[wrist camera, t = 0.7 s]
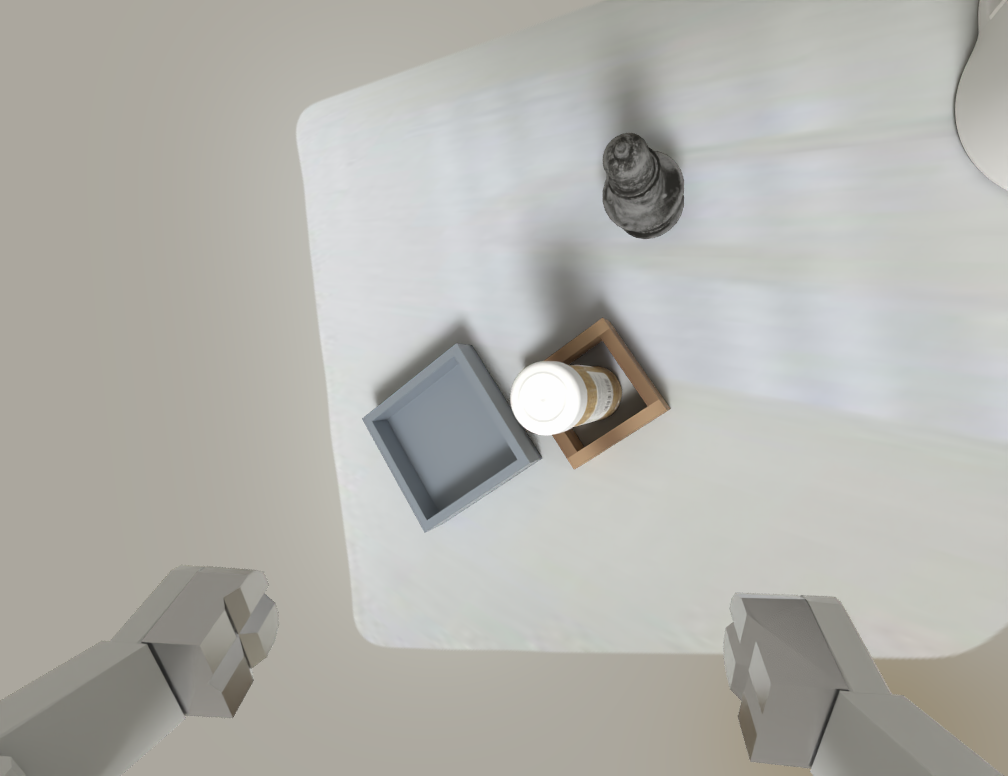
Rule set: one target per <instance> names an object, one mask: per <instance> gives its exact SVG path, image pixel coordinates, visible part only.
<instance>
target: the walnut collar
mask: <svg viewBox="0 0 1008 776" xmlns="http://www.w3.org/2000/svg"><path fill="white" fill-rule="evenodd" d="M601 341H603V342H604V344H605V345H606V346H607V348H608V349H609V351H610V352H611V354H612V355H613V357H614V358H615V360H616V361H617V363H618V364H619V365H620V367H621V368H622V370H623V371H624V373H625V374H626V376H627V377H628V379H629V380H630V381H631V383H632V384H633V386H634V387H635V389H636V390H637V392H638V393H639V395H640V396H641V397H642V399H643V400H644V402H645V403H646V405H647V406H648V407H646V408H645V409H643V410H642V411H640V412H639V413H637V414H635V415H634V416H632V417H631V418H629V419H628V420H626V421H625V422H623V423H622V424H620V425H618V426H617V427H615V428H614V429H612V430H611V431H609V432H608V433H606V434H605V435H603V436H601V437H600V438H598V439H597V440H595V441H594V442H592V443H591V444H589V445H588V446H586V447H584V446H583V444H582V443H581V441H580V440H579V438H578V437H577V435H576V434H575V432H574V430H573V429H572V428H571V429H569V430H567V431H565V432H562V433H558V434H553V435H552V436H553V437H554V439H555V440H556V442H557V443H558V445H559V447H560V448H561V450H562V451H563V453H564V455H565V456H566V458H567V459H568V461H569V462H570V464H571V466H572V467H573V469H576V468H578V467H579V466H581V465H583V464H585V463H586V462H588V461H589V460H591V459H592V458H594V457H596V456H597V455H599V454H600V453H602V452H604V451H605V450H607V449H608V448H610V447H611V446H613V445H615V444H616V443H618V442H619V441H621V440H622V439H624V438H626V437H627V436H629V435H630V434H632V433H633V432H635V431H637V430H638V429H640V428H641V427H643V426H644V425H646V424H648V423H649V422H651V421H652V420H654V419H655V418H657V417H659V416H660V415H662V414H663V413H665V412H667V411H668V410H670V407H669V406H668V405H667V403H666V402H665V400H664V399H663V397H662V396H661V394H660V393H659V392H658V390H657V389H656V387H655V386H654V384H653V383H652V382H651V380H650V379H649V377H648V376H647V374H646V373H645V372H644V370H643V369H642V367H641V366H640V364H639V363H638V361H637V360H636V359H635V357H634V356H633V354H632V353H631V351H630V350H629V349H628V347H627V346H626V344H625V343H624V341H623V340H622V338H621V337H620V336H619V334H618V333H617V331H616V330H615V328H614V327H613V326H612V324H611V323H610V321H608V320H606V319H604V318H601V319H600V320H599V321H597V322H596V323H595V324H593V325H592V326H591V327H589V328H588V329H586V330H585V331H584V332H582V333H581V334H580V335H578V336H577V337H576V338H574V339H573V340H571V341H570V342H569V343H567V344H566V345H565V346H563V347H562V348H561V349H559V350H558V351H556V352H555V353H554V354H552V355H551V356H550V357H548V358H547V359H546V360H544V361H556V362H561V363H564V364H567V365H569V364H571V363H572V362H574V361H575V360H576V359H578V358H579V357H581V356H582V355H583V354H585V353H586V352H587V351H589V350H590V349H592V348H593V347H594V346H596V345H597V344H599V343H600V342H601Z"/></svg>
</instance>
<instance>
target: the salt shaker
mask: <svg viewBox="0 0 1008 776" xmlns="http://www.w3.org/2000/svg"><path fill="white" fill-rule="evenodd" d="M603 166H604V169H605V171H606V173H607V178H606V181H605V185H604V189H603V204H604V208H605V211H606V213H607V214H608V216H609V218H610V219H611V220H612V221H613V222H614V223H615V224H616V225H617V226H619V227H621V228H622V229H624V230H625V231H626V232H627V233H628V234H630V235H632V236H634V237H636V238H642V239H649V238H655V237H658V236H661V235H663V234H664V233H666V232H667V231H669V230H670V229H671V228H672V227H673V226H674V225H675V224H676V223H677V221H678V219H679V218H680V216H681V214H682V210H683V207H684V196H683V193H684V179H683V176H682V172H681V170H680V168H679V166H678V165H677V163H676V162H675V161H674V160H673V159H672V158H670V157H669V156H668V155H666V154H663V153H661V152H658V151H653V150H652V149H650V148H648V146H647V144H646V142H645V140H644V139H642V138H641V137H640V136H639V135H636V134H634V133H625V134H621V135H619V136H617V137H615V138H614V139H613V140H611V142H610V143H609V144H608V145H607V147H606V149H605V151H604V155H603Z"/></svg>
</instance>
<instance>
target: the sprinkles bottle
mask: <svg viewBox="0 0 1008 776" xmlns="http://www.w3.org/2000/svg"><path fill="white" fill-rule="evenodd" d="M621 395H622V390H621V386H620V383H619V381H618V379H617V378H616V376H615V375H614V374H613V373H612V372H611V371H609V370H608V369H606V368H603V367H600V366H585V365H567V364H564V363H561V362H556V361H541V362H536V363H533V364H531V365H529V366H527V367H526V368H524V369H523V370H522V371H521V372H520V373H519V374H518V376H517V377H516V379H515V380H514V382H513V385H512V388H511V394H510V402H511V407H512V411H513V413H514V415H515V417H516V419H517V420H518V422H519V423H520V424H521V425H522V426H523V427H524V428H526V429H527V430H529V431H531V432H533V433H535V434H539V435H553V434H558V433H562V432H565V431H567V430H569V429H571V428H572V427H576V426H580V425H583V424H586V423H590V422H593V421H597V420H603V419H605V418H607V417H609V416H610V415H612V414H613V413H614V412H615V411H616V410H617V408H618V406H619V404H620V401H621Z"/></svg>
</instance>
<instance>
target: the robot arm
mask: <svg viewBox="0 0 1008 776" xmlns="http://www.w3.org/2000/svg"><path fill="white" fill-rule="evenodd" d="M978 28H979V35H978V39H977V42H976V45H975V47H974V50H973V52H972V54H971V56H970V58H969V60H968V62H967V64H966V66H965V68H964V71H963V73H962V76H961V79H960V82H959V86H958V90H957V95H956V103H955V116H956V125H957V130H958V134H959V137H960V140H961V143H962V145H963V147H964V149H965V151H966V153H967V154H968V156H969V158H970V159H971V160H972V162H973V163H974V164H975V165H976V167H977V168H978V169H979V170H980V171H981V172H982V173H983V174H984V175H985V176H986V177H988V178H989V179H990V180H991V181H993V182H994V183H995V184H997V185H998V186H1000V187H1002V188H1003V189H1005V190H1007V191H1008V0H980V1H979V10H978ZM268 586H269V583H268V581H267V578H266V576H265V574H264V572H263V571H258V570H248V569H235V568H223V567H210V566H206V567H205V566H190V565H180V566H179V567H176V568H175V569H173V570H171V571H170V572H169V574H168V575H167V576H166V577H165V578H164V579H163V580H162V582H161V583H160V584H159V585H158V586H157V588H156V589H155V590H154V591H153V592H152V593H151V594H150V596H149V597H148V598H147V599H146V600H145V601H144V602H143V604H142V605H141V606H140V607H139V608H138V609H137V611H136V612H135V613H134V614H133V615H132V616H131V617H130V619H129V620H128V621H127V622H126V623H125V624H124V626H123V627H122V628H121V629H120V630H119V632H118V633H117V634H116V635H115V636H114V637H113V638H112V639H111V641H101V642H99V643H97V644H96V645H94V646H92V647H90V648H89V649H87V650H85V651H84V652H82V653H80V654H79V655H77V656H75V657H73V658H72V659H70V660H68V661H67V662H65V663H63V664H62V665H60V666H58V667H56V668H55V669H53V670H51V671H50V672H48V673H46V674H45V675H43V676H41V677H39V678H38V679H36V680H35V681H33V682H31V683H29V684H28V685H26V686H24V687H22V688H21V689H19V690H17V691H16V692H14V693H12V694H10V695H9V696H7V697H5V698H4V699H2V700H0V776H121V775H122V774H123V773H125V772H126V771H127V770H128V769H129V768H130V767H131V766H133V765H134V764H135V763H136V762H137V761H138V760H139V759H140V758H142V757H143V756H144V755H145V754H146V753H147V752H148V751H150V750H151V749H152V748H153V747H154V746H155V745H156V744H157V743H159V742H160V741H161V740H162V739H163V738H164V737H165V736H167V734H169V733H170V732H171V731H172V730H173V729H175V728H176V727H177V726H178V725H179V724H180V723H181V722H183V721H184V720H185V716H203V717H221V718H233V717H234V715H235V714H236V712H237V710H238V708H239V706H240V705H241V703H242V701H243V699H244V697H245V696H246V694H247V692H248V690H249V688H250V687H251V685H252V683H253V681H254V679H253V672H252V668H253V667H254V666H256V665H257V664H258V663H260V662H261V661H262V660H263V659H265V658H266V657H267V656H268V653H269V652H270V650H271V648H272V646H273V644H274V642H275V639H276V634H277V630H278V626H279V615H278V610H277V607H276V604H275V602H274V601H273V600H272V599H270V598H269V597H268V596H267V595H266V594H265V591H266V589H267V588H268ZM730 612H731V616H732V619H733V623H731V624H730V625H729V626H728V627H726V629H725V636H724V642H723V644H724V663H725V669H726V674H727V678H728V682H729V686H730V689H731V691H732V692H733V693H734V694H735V695H736V696H737V697H738V698H739V699H740V700H741V705H740V710H739V714H738V719H739V723H740V727H741V730H742V734H743V738H744V741H745V745H746V748H747V752H748V755H749V759H750V761H751V762H759V763H767V764H775V765H784V766H793V767H803V768H811V771H810V772H811V773H812V774H813V776H1004V775H1002V774H1001V773H1000V772H999V771H997V770H996V769H995V768H994V767H992V766H991V765H990V764H989V763H987V762H986V761H985V760H984V759H982V758H981V757H980V756H979V755H977V754H976V753H975V752H974V751H972V750H971V749H970V748H969V747H967V746H966V745H965V744H964V743H962V742H961V741H960V740H958V739H957V738H956V737H955V736H954V735H952V734H951V733H950V732H948V731H947V730H946V729H945V728H944V727H942V726H941V725H940V724H939V723H937V722H936V721H935V720H934V719H932V718H931V717H930V716H929V715H927V714H926V713H925V712H924V711H922V710H921V709H919V707H917V706H916V705H915V704H914V703H912V702H911V701H909V699H907V698H906V697H904V696H903V695H894V694H892V693H891V691H890V690H889V688H888V686H887V684H886V682H885V680H884V679H883V677H882V675H881V673H880V671H879V670H878V668H877V666H876V664H875V663H874V661H873V659H872V657H871V655H870V653H869V651H868V650H867V648H866V646H865V644H864V642H863V641H862V639H861V637H860V635H859V633H858V632H857V630H856V628H855V626H854V624H853V622H852V621H851V619H850V617H849V615H848V613H847V612H846V610H845V608H844V606H843V604H842V603H841V602H840V601H839V600H838V599H837V598H836V597H828V596H805V595H801V596H798V595H786V594H760V593H735V594H734V595H733V597H732V599H731V604H730Z"/></svg>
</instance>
